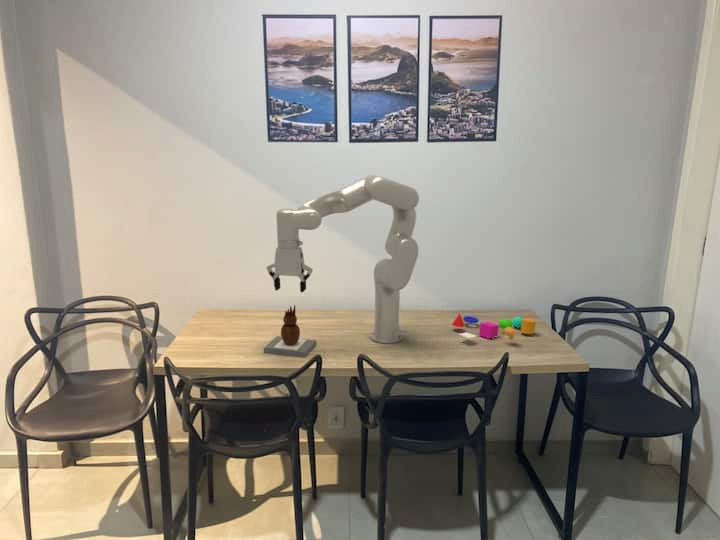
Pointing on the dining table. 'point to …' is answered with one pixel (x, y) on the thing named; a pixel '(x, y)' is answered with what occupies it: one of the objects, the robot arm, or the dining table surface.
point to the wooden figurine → (290, 328)
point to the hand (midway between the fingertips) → (290, 290)
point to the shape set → (497, 326)
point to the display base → (290, 347)
